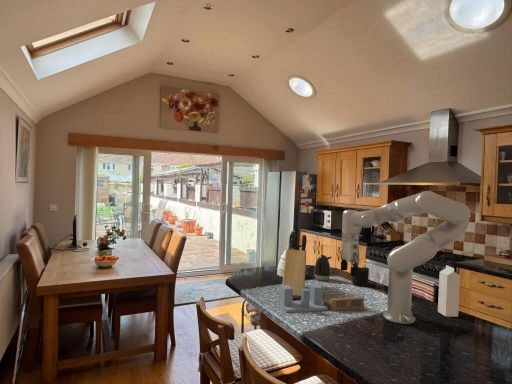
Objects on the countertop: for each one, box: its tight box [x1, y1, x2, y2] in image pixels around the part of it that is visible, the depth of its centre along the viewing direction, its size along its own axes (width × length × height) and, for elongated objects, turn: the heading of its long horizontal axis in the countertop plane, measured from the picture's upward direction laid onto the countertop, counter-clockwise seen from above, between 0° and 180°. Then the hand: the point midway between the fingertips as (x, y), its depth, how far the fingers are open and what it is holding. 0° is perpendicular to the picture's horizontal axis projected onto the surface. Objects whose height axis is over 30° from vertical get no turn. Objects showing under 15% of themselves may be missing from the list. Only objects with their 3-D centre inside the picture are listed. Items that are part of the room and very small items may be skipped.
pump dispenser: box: [313, 254, 333, 282], centre depth 205 cm, size 10×10×15 cm
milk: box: [437, 265, 461, 318], centre depth 154 cm, size 6×6×22 cm
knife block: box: [281, 230, 307, 300], centre depth 181 cm, size 11×35×31 cm, turn 170°
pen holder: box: [351, 266, 370, 288], centre depth 197 cm, size 9×9×10 cm
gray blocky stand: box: [278, 283, 329, 314], centre depth 156 cm, size 11×20×9 cm, turn 104°
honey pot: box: [276, 246, 289, 278], centre depth 213 cm, size 13×13×18 cm
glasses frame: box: [323, 296, 365, 312], centre depth 159 cm, size 9×16×5 cm, turn 104°
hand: (348, 272), depth 157 cm, fingers open, 9 cm apart
